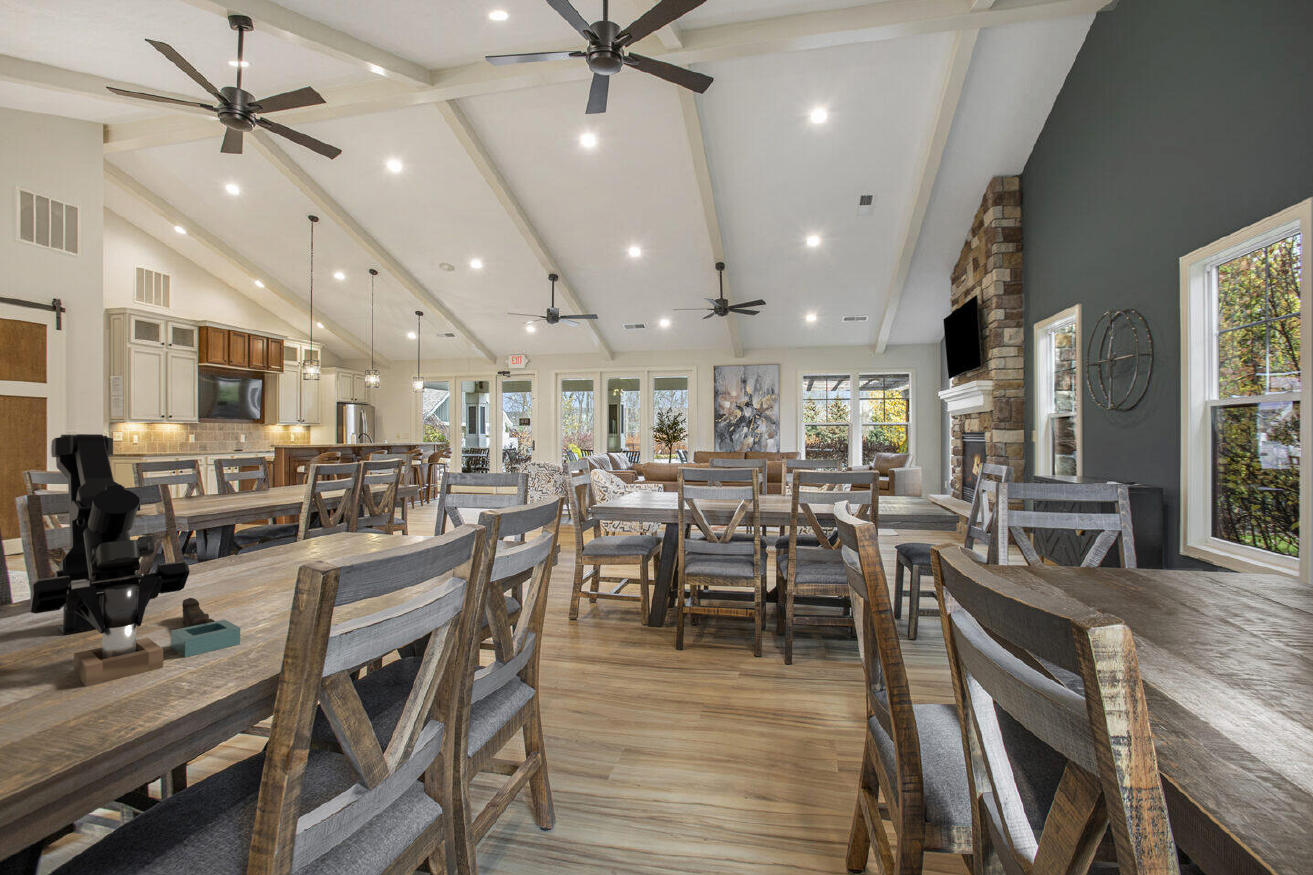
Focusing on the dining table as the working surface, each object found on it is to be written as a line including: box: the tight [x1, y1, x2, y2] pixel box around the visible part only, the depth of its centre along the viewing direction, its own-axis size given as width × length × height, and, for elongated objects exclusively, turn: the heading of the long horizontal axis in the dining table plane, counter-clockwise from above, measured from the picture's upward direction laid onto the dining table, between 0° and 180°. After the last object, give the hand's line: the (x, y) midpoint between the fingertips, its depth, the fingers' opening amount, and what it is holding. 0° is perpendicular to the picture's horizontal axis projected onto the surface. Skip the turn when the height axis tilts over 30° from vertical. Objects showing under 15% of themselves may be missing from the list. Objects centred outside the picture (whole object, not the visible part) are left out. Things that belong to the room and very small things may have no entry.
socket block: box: [170, 619, 241, 658], centre depth 102 cm, size 8×8×3 cm
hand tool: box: [181, 597, 216, 627], centre depth 112 cm, size 19×4×5 cm, turn 44°
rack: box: [73, 637, 164, 687], centre depth 91 cm, size 9×9×3 cm
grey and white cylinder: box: [101, 584, 138, 660], centre depth 91 cm, size 4×4×13 cm
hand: (121, 628), depth 90 cm, fingers closed on grey and white cylinder, 4 cm apart
